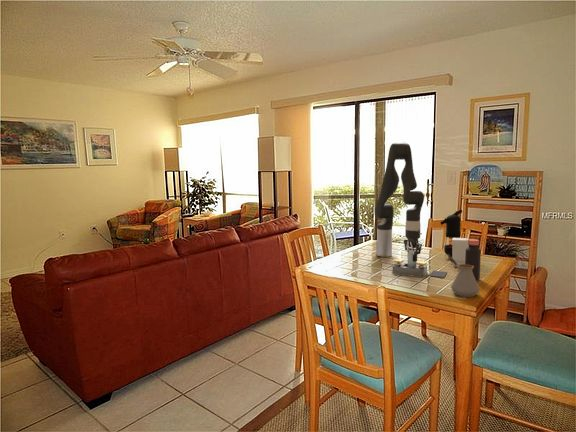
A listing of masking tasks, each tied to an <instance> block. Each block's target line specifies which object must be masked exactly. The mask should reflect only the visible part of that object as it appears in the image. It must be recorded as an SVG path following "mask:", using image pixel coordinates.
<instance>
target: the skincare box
mask: <svg viewBox="0 0 576 432" xmlns="http://www.w3.org/2000/svg"><path fill="white" fill-rule="evenodd" d="M468 239H469V238H468V237H466V238H465V237H460V238H453V239H451V241H452V258H453V259H454V260H455V262H456V263H457V265H461V264H465V252H466V248H468V247H469V245H468ZM451 262H452V261H451ZM451 265H452V267H457V266H456V265H455V264H454V263H453V262H452V263H451ZM457 268H458V267H457Z"/></svg>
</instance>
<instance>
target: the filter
mask: <svg viewBox="0 0 576 432" xmlns="http://www.w3.org/2000/svg"><path fill="white" fill-rule="evenodd" d="M462 213H463V210H462V209H459V210H455V212H454V213H452V214H449V215H448V216H447V217H445V218H444V219H443V220H442V221H440V225H442V226H443V225H445V237H446V238H448V239H449V240H448V242H449V243H448V244H444V247H443V249H444V250H443V251H444V253H445V255H446V254H449V255H450V256H451V257H452V240H453V238H461V226H462V225H461V223H462V222H461V217H460V216H459V215H461V214H462Z"/></svg>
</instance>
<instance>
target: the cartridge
mask: <svg viewBox="0 0 576 432" xmlns="http://www.w3.org/2000/svg"><path fill="white" fill-rule="evenodd" d="M406 263H407V267H413V268H415V266H416V263H417V261H416V262H414V261H413V251H412V250H409V252H407V262H406Z"/></svg>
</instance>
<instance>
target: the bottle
mask: <svg viewBox="0 0 576 432" xmlns="http://www.w3.org/2000/svg"><path fill="white" fill-rule="evenodd" d="M479 245H480V239H476V238H468V248H466V252H465V264H467V265H472V266H474V268H473V270H472V272H473V275H474V277H475V279H476V282H477V281H480V277H481V274H480V273H481V254H482V253H481V252H482V251H481V249H480V248H479Z"/></svg>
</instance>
